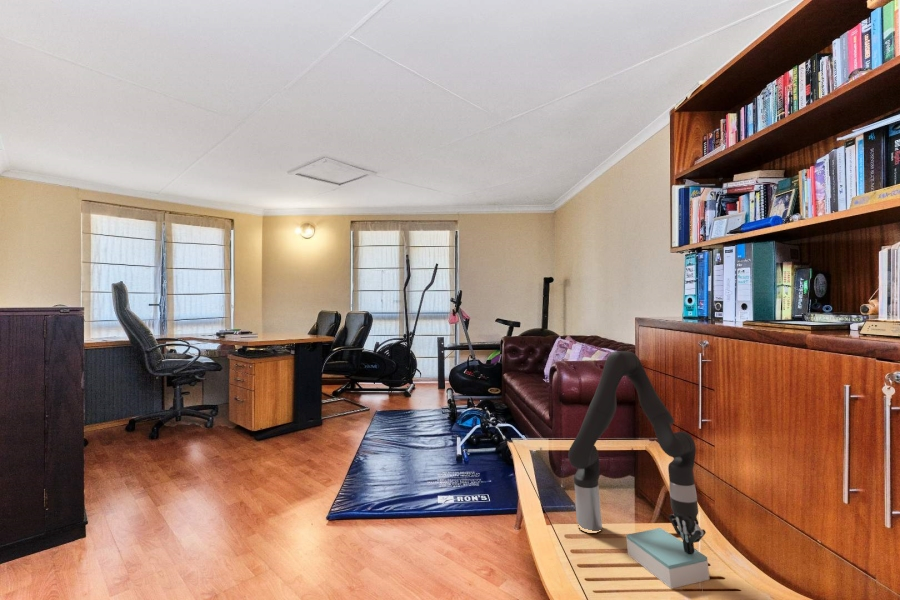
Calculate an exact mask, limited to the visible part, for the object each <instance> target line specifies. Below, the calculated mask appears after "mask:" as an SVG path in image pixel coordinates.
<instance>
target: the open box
mask: <svg viewBox="0 0 900 600" xmlns="http://www.w3.org/2000/svg"><path fill="white" fill-rule="evenodd" d="M626 546H627V555H628V556H629V557H630V558H632V559H633V560H635V562H637V563H638V564H639V565H641V566H642V567H643V568H645V570H647V571H648V572H649V573H651V574H652V575H653V576H655V577H656V578H657V579H658V580H659V581H661V582H662V583H664V584H665V586H667V587H668V588H670V589H676V588H680V587H683V586H688V585H692V584H695V583H697V584H698V583H700V582H705V581H709V580H710V571H709V563H708V560H707V561H703V562H698V563H694V564H690V565H685V566H681V567H677V568H672V569H668V568H667V567H665V566H664V565H663V564H661V563H660V562H659V561H657V560H656V559H655V558H653V557H652V556H651V555H649V554H648V553H647V552H645V551H644V550H642V549H641V548H640V547H638V546H637V545H636V544H634V543H633V542H632V541H630V540H629V539H628V538H627V537H626Z"/></svg>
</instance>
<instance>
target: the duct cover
mask: <svg viewBox="0 0 900 600" xmlns="http://www.w3.org/2000/svg"><path fill="white" fill-rule="evenodd" d="M625 536H626V539H627V538H628V539H629V540H630V541H632V542H633V543H634V544H636V545H637V546H638V547H640V548H641V549H642V550H644V551H645V552H647V553H648V554H649V555H651V556H652V557H653V558H655V559H656V560H657V561H659V562H660V563H661V564H663V565H664V566H665V567H667V568H668V569H672V568H677V567H681V566H685V565H690V564H694V563H698V562H703V561H708V556H706V555H705V554H703V553H701V552H700V551H698V550H696V549H695V548H694V553H693V554H688V553H686V552H685V551H684V547H683V540H682V539H680V538H677V537H676V536H675V535H672V534H671V533H670V532H668V531H666V530H665V529H663V528H661V527H659V528H652V529H648V530H644V531H639V532H633V533H628V534H626V535H625Z"/></svg>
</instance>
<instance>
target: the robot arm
mask: <svg viewBox="0 0 900 600" xmlns="http://www.w3.org/2000/svg"><path fill="white" fill-rule="evenodd" d="M624 377H627V378H628V379H629V381H630V382H631V383H632V384H633V387H635V390H636V392H637V395H638V400H639V404H640V407H641V409H642V412H643V413H644V415H645V416H646V418H647V419H648V421H649V422H650V424H651V425H652V426H653V431H654V433H655V436H656V439H657V441H658V444H659V446H660V448H661V449H662V451H663V452H664V453H665V454H666V455H667V456H668V457H671V458H673V459H672V461H670V463H668V466H667V467H668V468H667V470H668V471H667V472H668V479H669V486H668V487H669V488H668V489H669V497H670V499H669V500H670V507H671V510H672V513H673V514H668V517H667V518H668V519H669V521H670V523H671V525H672V527H673V529H674V531H675V533H676V534H677V536H680V539H681V541H682V542H683V547H684V551H685V552H686V553H688V554H693V553H694V549H695V546H694V543H699V542H700V541H701V539H703V537H704V536H705V535H706V533H707V532H706V529H702V528H701V527H700V525H699V520H698V518H697V516H698V515H699V505H698V495H697V490H696V485H695V477H694V466H695V461H696V451H697V449H696V443H695V440H694V439H693V437H692V436H691V434H689V433H688V432H686V431H677V432H674V431H673V429H672V427H671V426H672V425H673V424H674V422H675V420H674V417H673V416H672V414H671V413H670V411H669V410H668V408H667V407H666V406H665V404H664V402H663V401H662V400H661V398H660V397H659V395H658V393H657V392H656V390H655V387H654V386H653V384H652V383H651V380H650V379H649V377H648V374H647V373H646V370H645V368H644V367H643V364H642V362H641V360H640V358H639V356H638V355H637V354H635V353H634V352H632V351H626V350H617V351H616V350H615V351H612V352H610V353H609V354H608V355H607V357H606V360H605V362H604V366H603V369H602V373H601V377H600V379H599V382H598V385H597V387H596V389H595V393H594V396H593V397H592V400H591V401H590V404H589V406H588V408H587V411H586V414H585V416H584V419H583V421H582V424H581V426H580V429H579V431H578V432H577V435H576V437H575V439H574V440H573V442H572V444H571V445H570V447H569V449H568V453H567V454H568V455H567V456H568V460H569V463H570V465H571V466H572V467H573V468H575V469H577V470H576V473H575V474H574V476H573V483H574V484H573V485H574V495H575V499H574V505H575V515H576V518H577V519H576V523H577V522H578V524H579V525H580V526H581V527H582V528H584V529H588V530H592V531H599V530H601V529H602V530H603V524H602V512H601V511H602V509H601V501H600V499H601V498H600V488H599V479H600V456H599V451H598V448H597V447H596V446H595V445H596V443H597V441H598V439H600V438H601V436H602V435H603V434H604V433H605V431H606V430H607V429H608V428H609V425H610V424H611V422H612V420H613V418H614V417H615V413H616V410H617V405H618V404H617V390H618V387H619V385H620V383H621V381H622V379H623V378H624Z"/></svg>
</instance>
